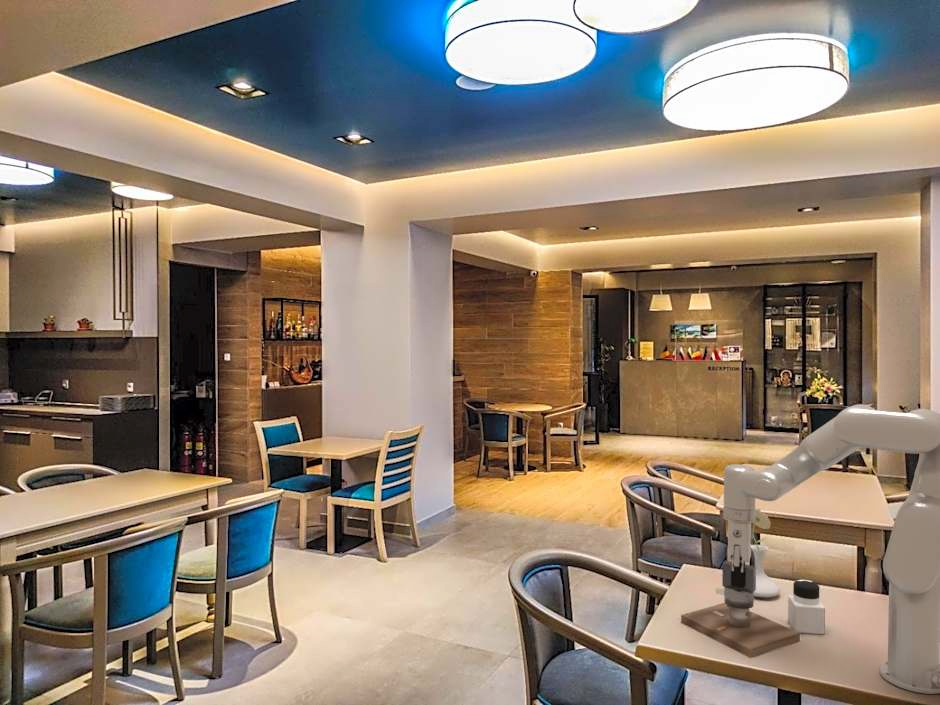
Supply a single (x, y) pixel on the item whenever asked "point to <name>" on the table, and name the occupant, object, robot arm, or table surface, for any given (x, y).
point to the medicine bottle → (806, 608)
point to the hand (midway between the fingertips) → (738, 583)
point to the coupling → (737, 595)
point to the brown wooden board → (740, 629)
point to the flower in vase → (763, 582)
